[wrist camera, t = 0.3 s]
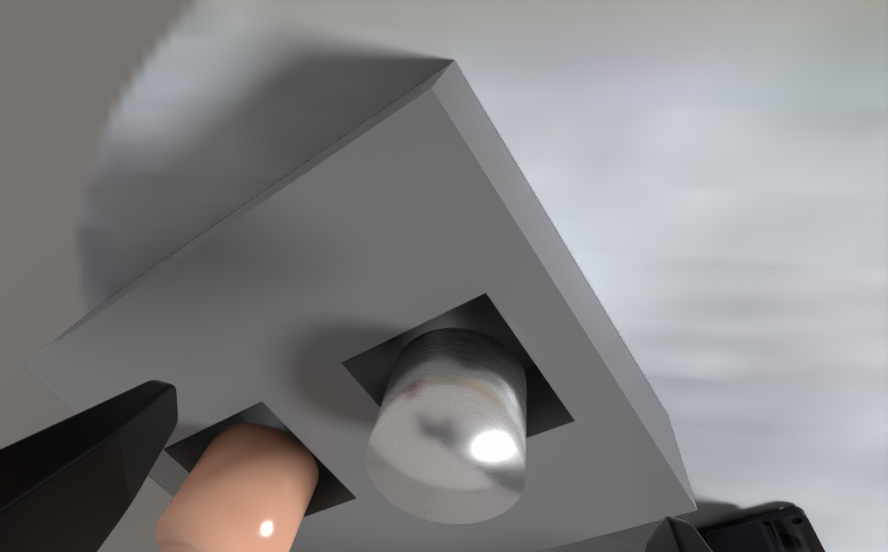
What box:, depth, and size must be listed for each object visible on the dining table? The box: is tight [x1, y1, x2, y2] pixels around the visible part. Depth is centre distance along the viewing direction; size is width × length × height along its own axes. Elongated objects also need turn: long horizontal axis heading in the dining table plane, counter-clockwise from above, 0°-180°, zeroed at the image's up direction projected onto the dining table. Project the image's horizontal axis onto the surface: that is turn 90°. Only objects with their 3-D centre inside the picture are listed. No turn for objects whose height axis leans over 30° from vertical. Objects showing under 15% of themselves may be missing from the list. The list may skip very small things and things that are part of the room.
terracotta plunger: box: [155, 423, 319, 552], centre depth 21 cm, size 5×5×4 cm
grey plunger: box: [365, 327, 527, 524], centre depth 18 cm, size 5×5×4 cm
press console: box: [21, 60, 697, 552], centre depth 23 cm, size 18×20×5 cm
